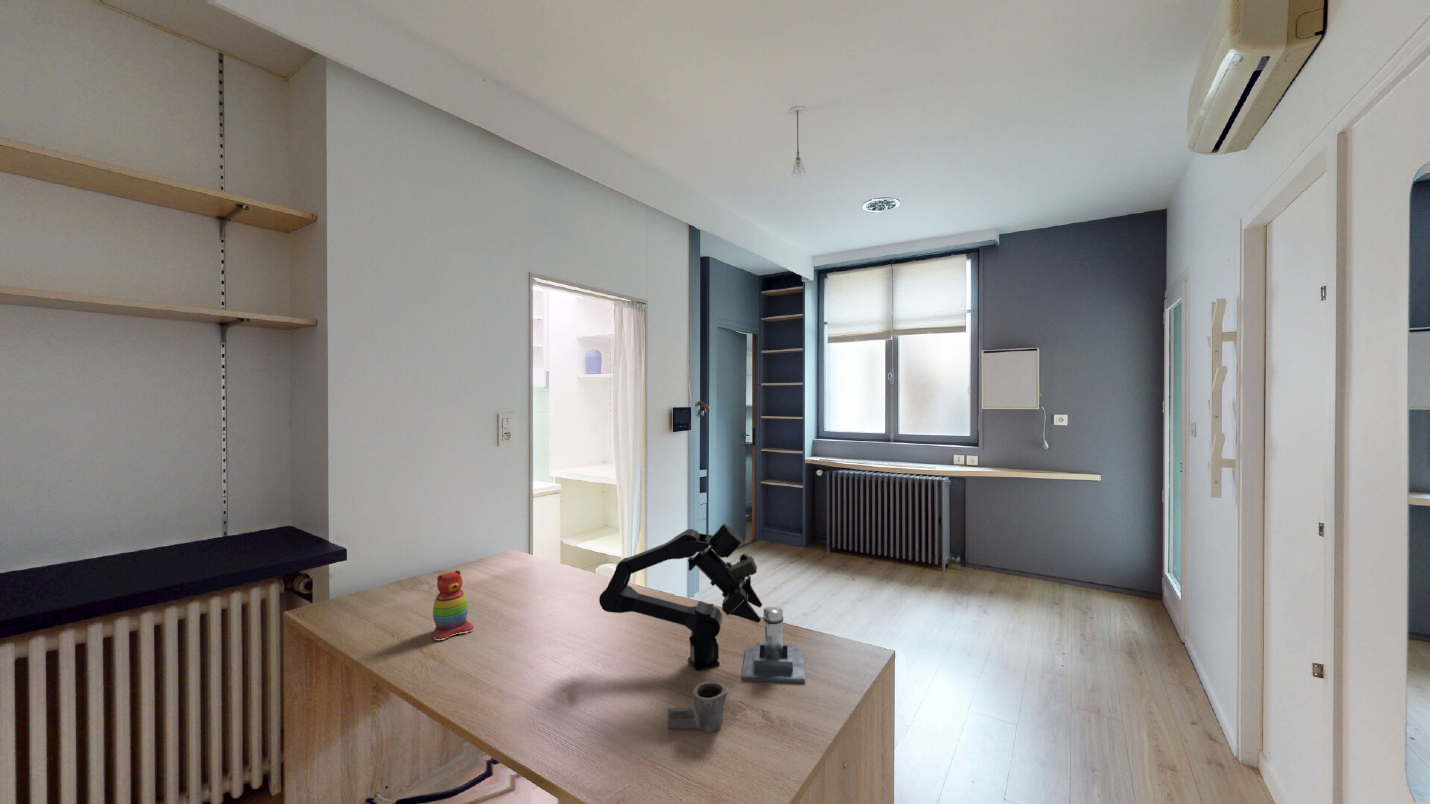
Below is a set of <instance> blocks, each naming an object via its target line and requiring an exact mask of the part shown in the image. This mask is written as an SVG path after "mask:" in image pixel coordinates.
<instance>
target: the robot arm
mask: <svg viewBox="0 0 1430 804" xmlns="http://www.w3.org/2000/svg"><path fill="white" fill-rule="evenodd" d="M718 528H719V529H717V531H716V532H715V533H713V535H712V534H706V533H700V532H699V531H697V530H695V529H693V528H689V529H686V530H684V531H682V532H681V533H679V534H677V535H676V536H674V537H673V538H671V540H669V541H667V542H665V543H663V544H660V545H658V546H655V547H652V548H649V549H648V550H645V551H642V552H639V553H637V554H634V555H632V556H629V557H625V558H622V559H621V560H620V561H619V562H618V564H616V566H615V570H614V573H613V575H612V577H611V579H610V581H609V583H608V585H607V587H606V588H605V589H604V590H603V591H602V592H601V593H600V594H599V598H598V600H599V605H600V607H601V609H602V610H603V611H604V612H606V613H614V614H623V613H624V614H625V613H631V612H632V613H637V614H641V615H644V616H647V617H650V618H655V619H659V620H662V621H666V622H670V623H672V624H673V623H674V624H677V625H681V626H684V627H686V628H687V629H689V630H690V635H689V639H688V640H689V654H690V655H689V657H688V658H687V659H688V662H689V663H690V665H692V667H693V669H694V670H695V671H696V672H697V671H701V670H706V669H709V668H710V669H711V668H714V667H719V666H720V664H721V663H720V661H718V660H719V658H720V653H719V643H718V641H717V637H718V635H719V633H720V632H721V631H720V630H721V627H722V624H723V619H724V618H723V613H722V612H721V611H720V609H719V608H718V607H716V606H714V605H715V604H714V603H706V602H705V601H701V600H699V601H697V603H696V605H695V606H687V605H684V604H680V603H676V602H672V601H669V600H665V599H662V598H661V599H660V598H657V597H653V596H650V595H647V594H646V595H645V594H642V593H639V592H638V591H636V589H634V588H632V586H631V585H629V583H630V579H631V576H632V574H634V573H637V572H640V571H642V570H646V569H647V568H650V567H653V566H655V565H658V564H662V563H664V562H666V561H669V560H682V559H686V558H688V559H687V561H688V571H689V572H690V571H692V570H693V569H694V568H695V567H697V568H698V569H699V570H700V571H701V572H702V573H703V574H704V576H706V577H707V579H709V580H710V585H711V586H712V587H714V586H716V587H717V589H719V590H720V591H721V592H722V594H721V596H722V597H723V600H722V603H721V604H722V605H721V610H722V611H723V612H724V613H725V614H726V616H736V617H739V618H743V619H745V620H749V621H752V622H754V623H760V622H761V617H760V616H759V614H758V613H757V612H756V611H755V609H754V608H753V606H755V607H757V608H762V606H763V603H762V602H761V600H760V599H759V596H758V595H757V593H756V591H755V590H754V589H753V586H752V577H751V576H753V575H755V574H756V573H757V569H758V566H757V565H756V562H755V558H753V556H752V555H748V554H747V553H743V554H740V555H739V561H737V563H734V564H732V563H731V562H730V561H729V562H728V561H727V562H725V561H724V560H723V559H724V558H726V559H728V558H729V557H730V556H731V555H733V553H735V551H736V550H738V548H740V546H741V545H742V544H743V543H744V540H743V537H742V536H741V534H739V532H738V531H737V530H736V529H734V528H732V527H731V526H729V525H727V524H726V523H722V525H721V526H720V527H718ZM722 558H723V559H722ZM752 605H753V606H752Z"/></svg>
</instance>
